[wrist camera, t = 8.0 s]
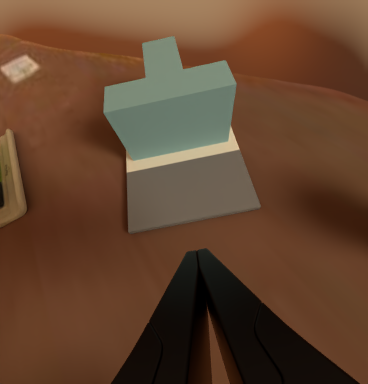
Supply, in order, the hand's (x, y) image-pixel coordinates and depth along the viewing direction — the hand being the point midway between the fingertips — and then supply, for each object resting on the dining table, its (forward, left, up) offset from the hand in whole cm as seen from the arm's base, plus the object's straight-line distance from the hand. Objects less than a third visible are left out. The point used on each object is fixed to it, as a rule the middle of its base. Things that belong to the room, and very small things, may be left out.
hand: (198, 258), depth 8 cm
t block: (+13, +16, -12) cm, 24 cm away
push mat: (+10, +13, -12) cm, 21 cm away
